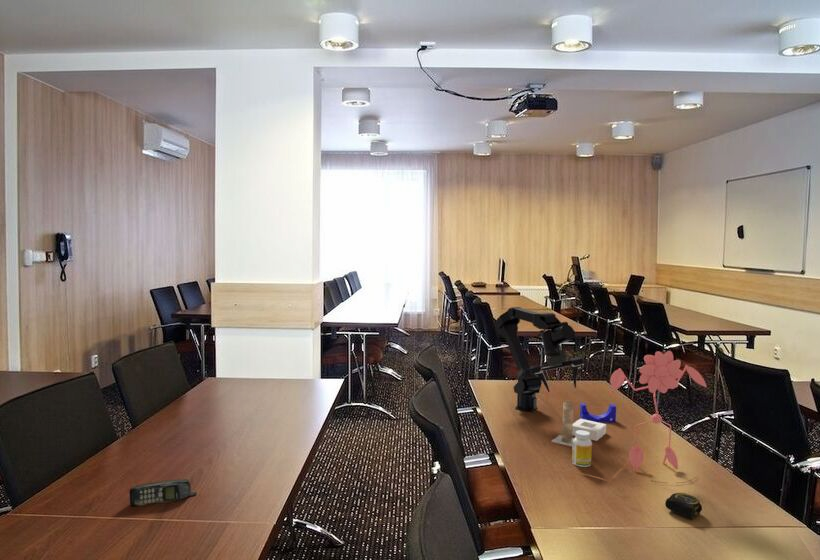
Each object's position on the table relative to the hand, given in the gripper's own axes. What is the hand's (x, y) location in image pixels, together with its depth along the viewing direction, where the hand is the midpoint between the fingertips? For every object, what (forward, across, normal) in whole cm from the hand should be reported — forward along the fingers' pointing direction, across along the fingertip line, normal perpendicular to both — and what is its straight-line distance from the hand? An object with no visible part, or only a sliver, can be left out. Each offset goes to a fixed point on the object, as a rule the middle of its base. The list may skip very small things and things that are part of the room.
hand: (562, 389), depth 192 cm
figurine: (+28, +22, -27) cm, 45 cm away
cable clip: (+13, +9, +12) cm, 20 cm away
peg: (+17, -2, -13) cm, 21 cm away
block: (+16, +5, -4) cm, 17 cm away
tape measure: (+36, +23, -49) cm, 65 cm away
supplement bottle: (+23, +2, -28) cm, 37 cm away
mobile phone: (+13, -97, -85) cm, 130 cm away
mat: (+17, -2, -13) cm, 21 cm away
